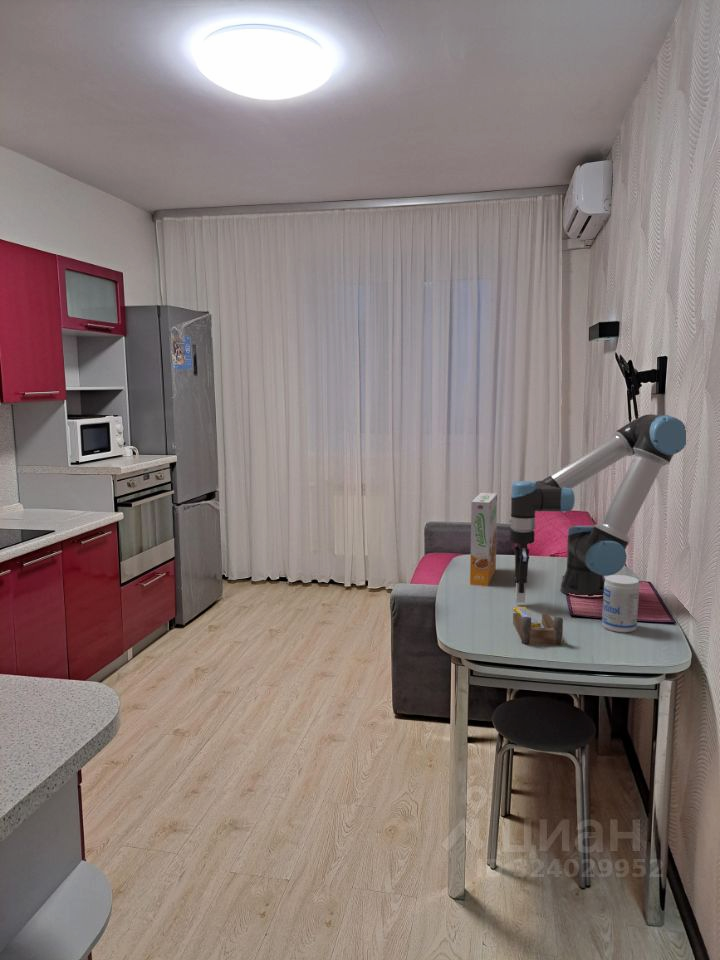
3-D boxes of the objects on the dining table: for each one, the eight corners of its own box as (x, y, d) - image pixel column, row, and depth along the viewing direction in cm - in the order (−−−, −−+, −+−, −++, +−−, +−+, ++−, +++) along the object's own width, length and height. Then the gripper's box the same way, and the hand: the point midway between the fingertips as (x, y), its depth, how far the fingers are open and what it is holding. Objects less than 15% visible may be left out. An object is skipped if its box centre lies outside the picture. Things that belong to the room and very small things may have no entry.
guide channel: (549, 623, 207) (549, 600, 206) (563, 645, 189) (563, 620, 188) (512, 622, 207) (512, 600, 207) (522, 644, 190) (523, 619, 189)
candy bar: (542, 629, 203) (542, 623, 203) (527, 629, 203) (527, 623, 203) (525, 611, 220) (525, 605, 220) (512, 611, 220) (512, 605, 219)
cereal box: (487, 586, 247) (489, 502, 243) (470, 584, 248) (471, 501, 245) (495, 570, 268) (497, 493, 264) (479, 569, 270) (480, 492, 266)
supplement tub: (595, 627, 203) (597, 578, 201) (611, 620, 210) (613, 572, 208) (627, 636, 196) (630, 585, 194) (642, 628, 202) (645, 578, 201)
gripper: (507, 525, 228) (505, 595, 231) (513, 533, 215) (511, 607, 218) (530, 526, 227) (528, 596, 230) (538, 534, 214) (535, 608, 217)
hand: (520, 601), depth 224 cm, fingers closed
